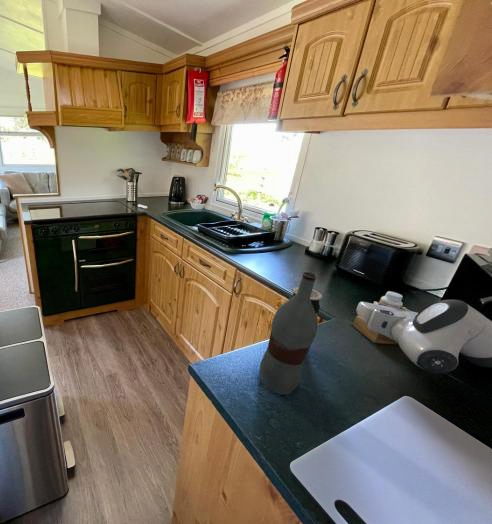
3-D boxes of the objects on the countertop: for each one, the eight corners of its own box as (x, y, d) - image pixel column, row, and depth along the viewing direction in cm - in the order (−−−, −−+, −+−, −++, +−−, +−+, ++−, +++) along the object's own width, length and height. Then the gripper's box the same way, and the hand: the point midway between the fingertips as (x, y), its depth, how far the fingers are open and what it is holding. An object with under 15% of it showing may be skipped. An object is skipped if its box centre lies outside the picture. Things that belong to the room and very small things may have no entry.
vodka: (249, 371, 76) (277, 266, 65) (279, 367, 78) (311, 265, 67) (272, 399, 68) (308, 284, 57) (304, 394, 70) (345, 283, 59)
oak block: (379, 326, 102) (384, 317, 101) (404, 344, 93) (409, 334, 91) (352, 325, 102) (356, 315, 100) (374, 343, 92) (378, 332, 91)
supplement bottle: (384, 317, 98) (396, 290, 94) (397, 326, 93) (410, 299, 89) (368, 316, 98) (379, 289, 94) (380, 325, 93) (393, 297, 89)
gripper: (459, 328, 78) (431, 305, 90) (369, 309, 84) (355, 290, 96) (448, 347, 80) (423, 322, 92) (362, 328, 86) (349, 307, 98)
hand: (388, 306), depth 94 cm, fingers closed on supplement bottle, 5 cm apart
